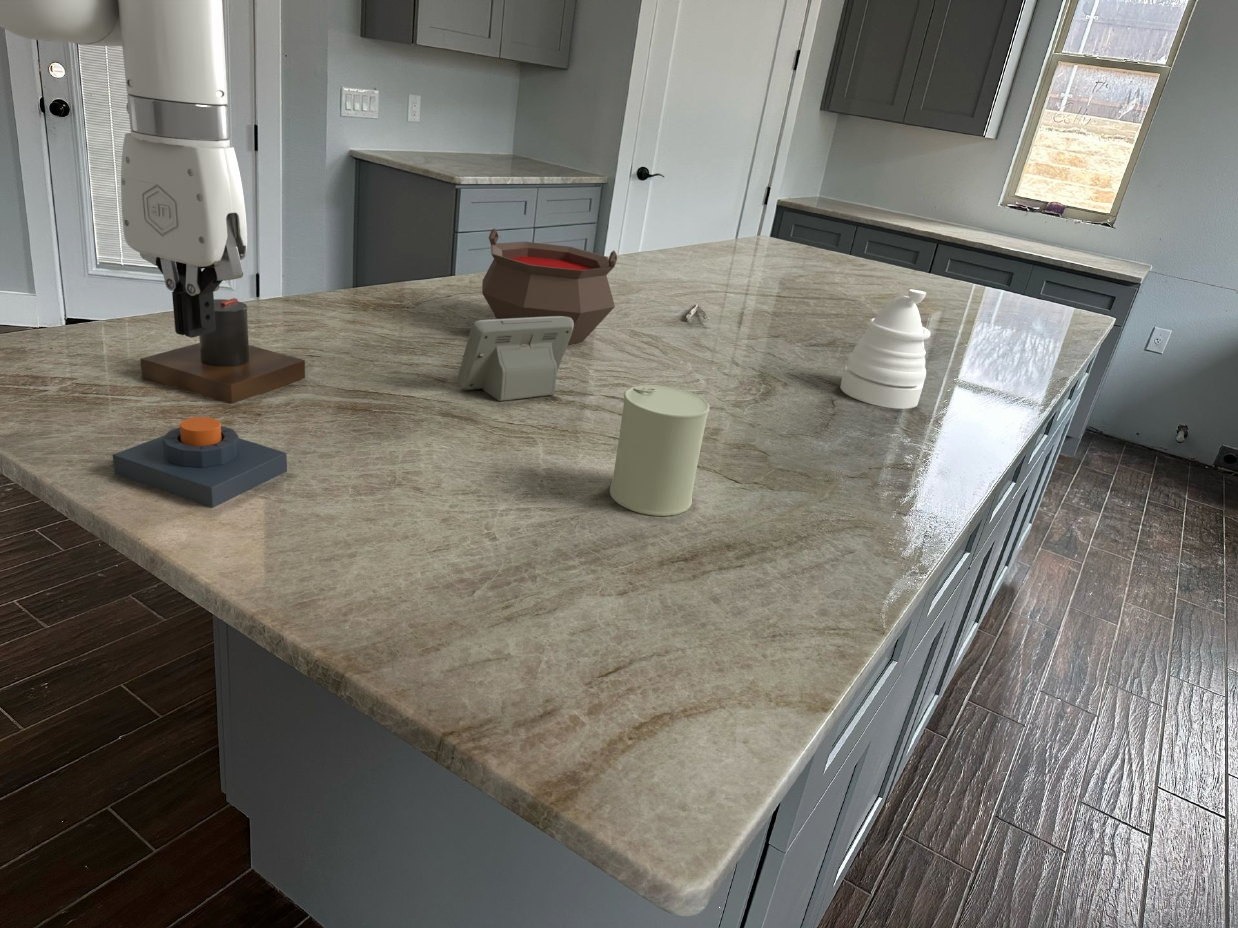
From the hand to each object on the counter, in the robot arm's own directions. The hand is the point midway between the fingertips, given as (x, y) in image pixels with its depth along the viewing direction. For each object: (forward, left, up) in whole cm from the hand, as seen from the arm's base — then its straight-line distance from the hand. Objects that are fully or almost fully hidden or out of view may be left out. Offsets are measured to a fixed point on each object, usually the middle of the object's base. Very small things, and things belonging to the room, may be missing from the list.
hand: (196, 332), depth 79 cm
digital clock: (+12, +44, -15) cm, 48 cm away
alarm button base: (0, 0, -15) cm, 15 cm away
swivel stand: (-18, +22, -15) cm, 32 cm away
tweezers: (+20, +112, -15) cm, 115 cm away
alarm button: (0, 0, -11) cm, 11 cm away
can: (+40, +23, -15) cm, 48 cm away
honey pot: (+60, +84, -15) cm, 104 cm away
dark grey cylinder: (-18, +22, -12) cm, 31 cm away
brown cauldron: (+3, +73, -15) cm, 74 cm away
